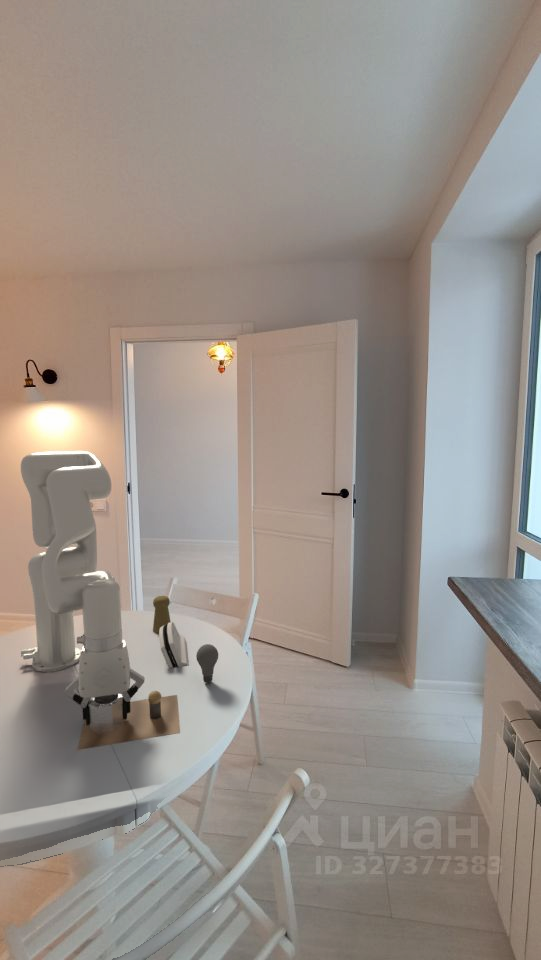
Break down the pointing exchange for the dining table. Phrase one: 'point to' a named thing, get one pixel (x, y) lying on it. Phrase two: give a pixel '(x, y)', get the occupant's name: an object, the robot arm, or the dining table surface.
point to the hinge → (173, 646)
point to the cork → (161, 613)
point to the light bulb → (207, 661)
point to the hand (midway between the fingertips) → (107, 717)
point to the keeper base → (139, 722)
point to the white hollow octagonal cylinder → (106, 714)
